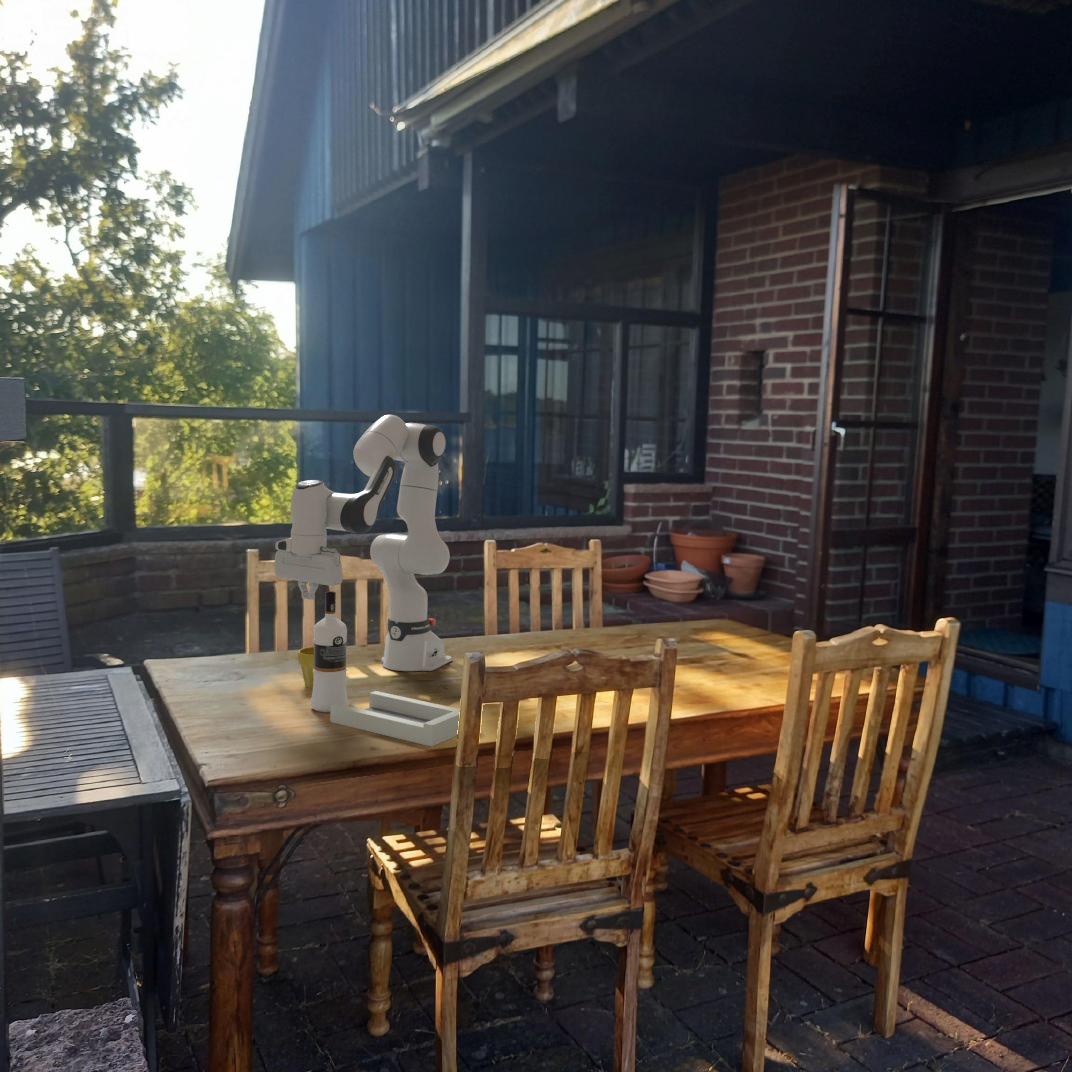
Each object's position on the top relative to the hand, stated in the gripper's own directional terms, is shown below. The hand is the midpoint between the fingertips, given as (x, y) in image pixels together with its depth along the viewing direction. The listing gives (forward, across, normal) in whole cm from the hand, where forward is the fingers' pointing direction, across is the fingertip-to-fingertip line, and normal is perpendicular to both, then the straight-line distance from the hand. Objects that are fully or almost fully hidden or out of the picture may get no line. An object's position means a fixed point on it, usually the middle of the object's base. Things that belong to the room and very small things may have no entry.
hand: (308, 598), depth 264 cm
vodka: (+27, -8, 0) cm, 28 cm away
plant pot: (+27, +10, -14) cm, 32 cm away
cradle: (+27, -31, 0) cm, 41 cm away
